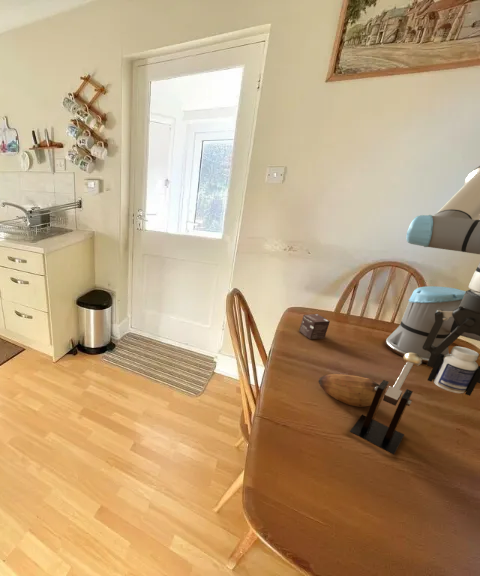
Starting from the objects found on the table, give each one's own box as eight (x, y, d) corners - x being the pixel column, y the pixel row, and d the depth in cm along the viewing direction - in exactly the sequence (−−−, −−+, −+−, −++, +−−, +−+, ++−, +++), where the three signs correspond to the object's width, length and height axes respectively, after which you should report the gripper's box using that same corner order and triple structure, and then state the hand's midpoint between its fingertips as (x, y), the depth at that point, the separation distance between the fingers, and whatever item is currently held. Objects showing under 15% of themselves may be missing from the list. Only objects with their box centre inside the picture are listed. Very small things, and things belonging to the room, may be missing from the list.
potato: (319, 405, 88) (319, 378, 92) (383, 416, 80) (380, 386, 84) (317, 394, 83) (317, 367, 87) (386, 404, 75) (382, 374, 79)
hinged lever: (404, 356, 76) (407, 347, 74) (422, 362, 74) (425, 353, 72) (379, 400, 71) (381, 392, 69) (398, 408, 68) (401, 400, 67)
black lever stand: (360, 417, 79) (378, 372, 74) (402, 438, 73) (424, 390, 68) (348, 434, 74) (366, 387, 69) (392, 458, 68) (415, 408, 63)
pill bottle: (472, 395, 70) (492, 358, 67) (444, 392, 71) (462, 356, 68) (452, 380, 75) (469, 345, 72) (426, 378, 76) (441, 343, 73)
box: (298, 331, 121) (302, 314, 118) (312, 330, 121) (317, 313, 119) (310, 339, 115) (315, 321, 112) (325, 338, 116) (330, 320, 113)
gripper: (428, 285, 70) (392, 372, 78) (571, 314, 56) (510, 416, 64) (434, 278, 74) (400, 361, 82) (570, 304, 60) (512, 400, 68)
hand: (448, 385), depth 73 cm, fingers closed on pill bottle, 5 cm apart
